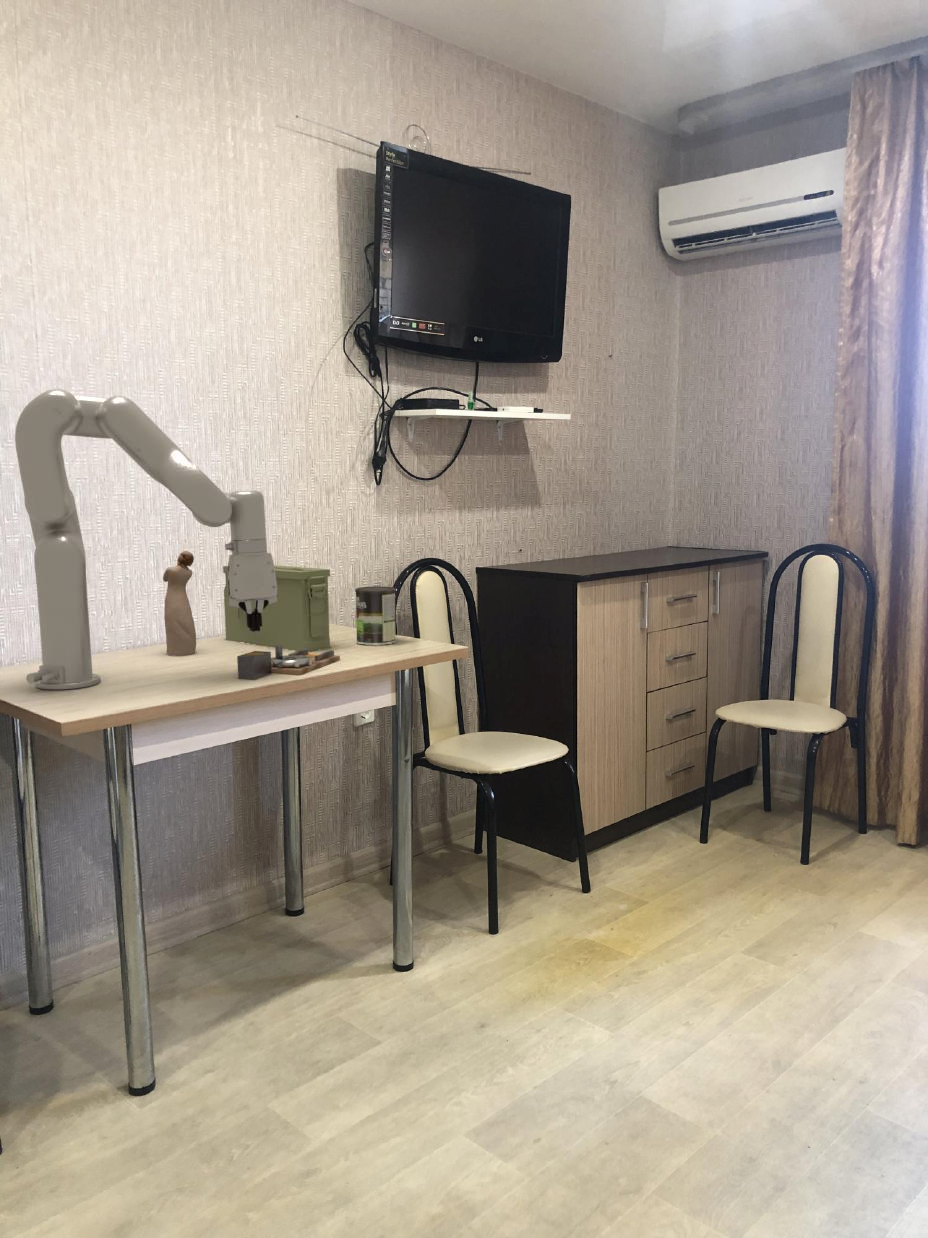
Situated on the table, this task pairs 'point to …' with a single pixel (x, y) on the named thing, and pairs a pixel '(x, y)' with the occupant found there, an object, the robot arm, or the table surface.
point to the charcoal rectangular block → (254, 665)
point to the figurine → (179, 608)
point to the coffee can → (375, 615)
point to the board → (318, 662)
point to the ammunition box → (287, 612)
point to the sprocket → (289, 659)
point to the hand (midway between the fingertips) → (254, 630)
